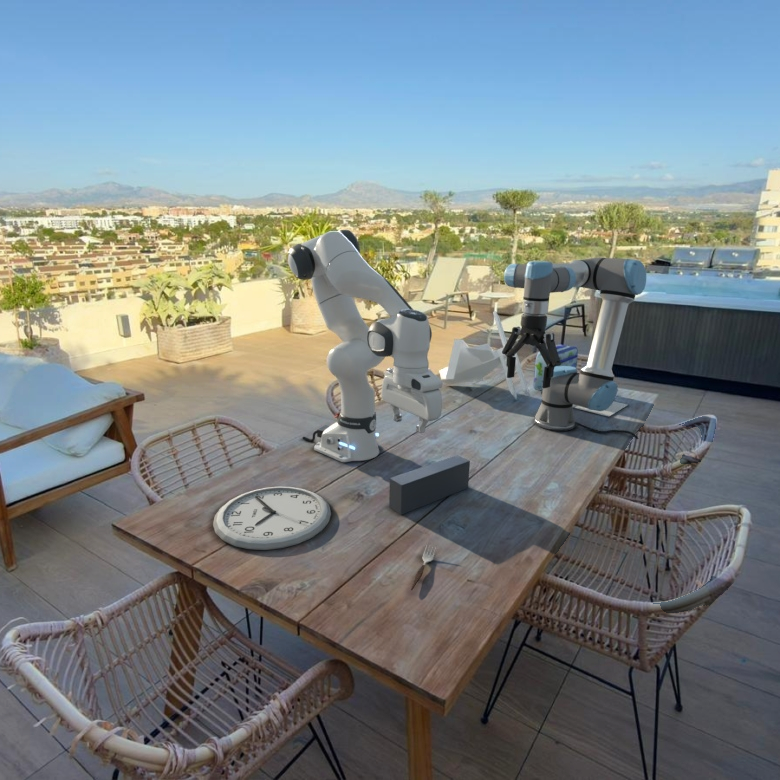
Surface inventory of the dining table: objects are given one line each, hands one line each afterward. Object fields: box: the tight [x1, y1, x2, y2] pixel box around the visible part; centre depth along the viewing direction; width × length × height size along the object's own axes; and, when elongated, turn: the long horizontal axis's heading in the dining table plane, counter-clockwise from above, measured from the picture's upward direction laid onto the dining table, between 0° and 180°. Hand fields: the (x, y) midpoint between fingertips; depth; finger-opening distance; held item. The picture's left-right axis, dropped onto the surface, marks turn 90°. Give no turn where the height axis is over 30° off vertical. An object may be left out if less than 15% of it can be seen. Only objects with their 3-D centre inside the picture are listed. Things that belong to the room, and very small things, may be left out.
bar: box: [388, 454, 471, 516], centre depth 147 cm, size 26×5×9 cm, turn 128°
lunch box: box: [533, 344, 579, 392], centre depth 247 cm, size 26×11×21 cm, turn 134°
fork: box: [410, 542, 438, 591], centre depth 116 cm, size 3×16×2 cm, turn 160°
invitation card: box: [573, 400, 629, 418], centre depth 226 cm, size 21×1×15 cm
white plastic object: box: [438, 310, 531, 400], centre depth 245 cm, size 37×45×31 cm
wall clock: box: [212, 486, 332, 551], centre depth 136 cm, size 30×2×30 cm
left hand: (408, 426), depth 136 cm, fingers open, 8 cm apart
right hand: (527, 382), depth 163 cm, fingers open, 13 cm apart
